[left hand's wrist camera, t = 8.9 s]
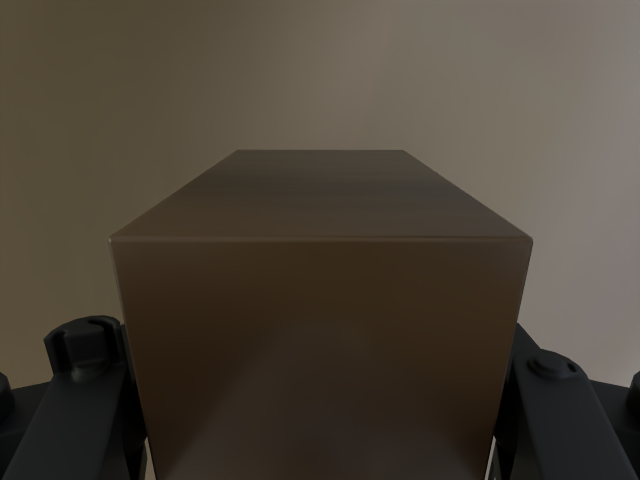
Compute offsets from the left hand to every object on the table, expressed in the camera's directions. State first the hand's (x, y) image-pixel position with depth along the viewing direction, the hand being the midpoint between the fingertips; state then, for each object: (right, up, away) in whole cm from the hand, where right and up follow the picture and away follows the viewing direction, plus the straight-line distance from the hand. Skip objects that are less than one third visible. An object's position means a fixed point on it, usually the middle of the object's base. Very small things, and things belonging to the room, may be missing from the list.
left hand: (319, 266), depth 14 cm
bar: (0, -9, +4) cm, 10 cm away
